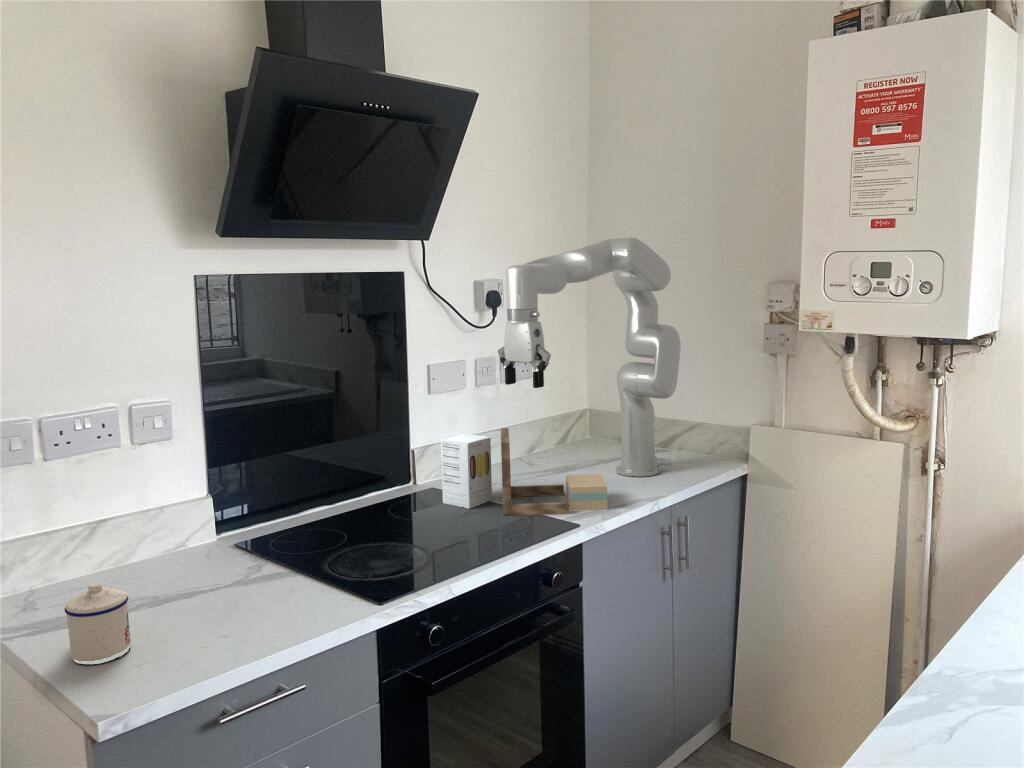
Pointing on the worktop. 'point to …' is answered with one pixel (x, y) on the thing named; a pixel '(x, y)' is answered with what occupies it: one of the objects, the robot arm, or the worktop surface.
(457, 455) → the supplement box
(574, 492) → the carton
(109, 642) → the teacup with lid
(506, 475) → the display stand
